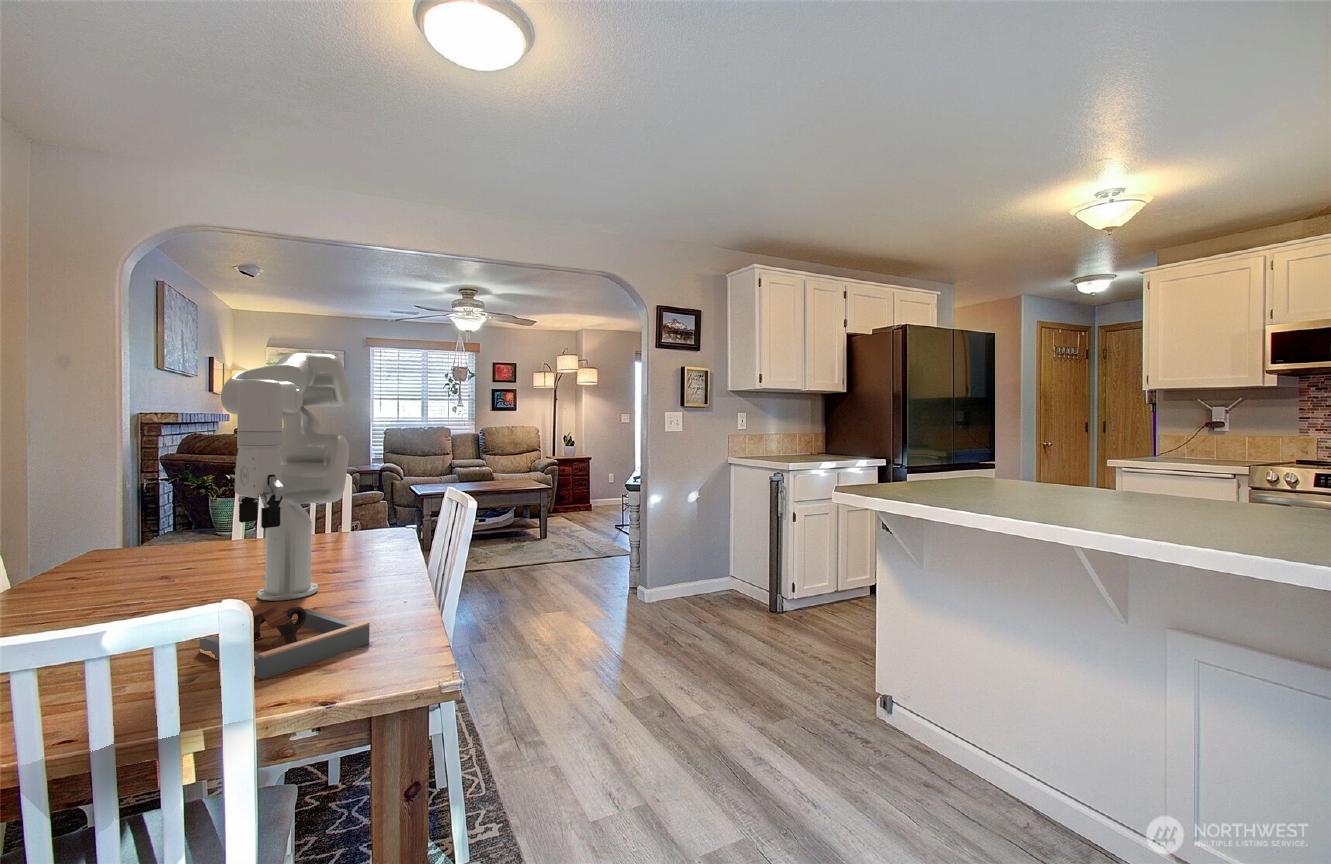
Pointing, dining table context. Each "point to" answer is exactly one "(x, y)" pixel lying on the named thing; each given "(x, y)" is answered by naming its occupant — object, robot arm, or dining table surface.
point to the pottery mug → (280, 624)
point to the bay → (304, 645)
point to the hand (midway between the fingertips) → (259, 524)
